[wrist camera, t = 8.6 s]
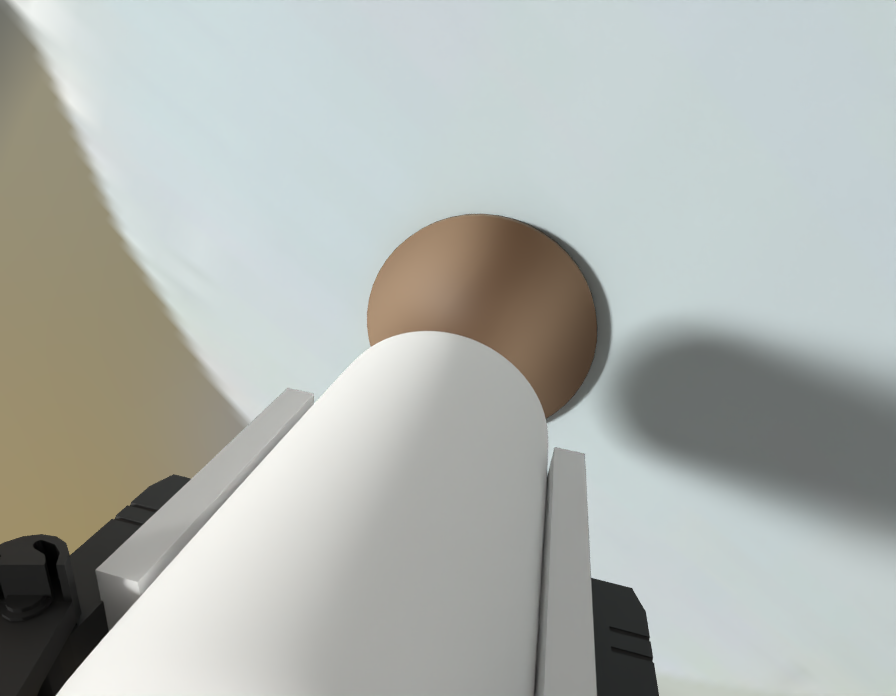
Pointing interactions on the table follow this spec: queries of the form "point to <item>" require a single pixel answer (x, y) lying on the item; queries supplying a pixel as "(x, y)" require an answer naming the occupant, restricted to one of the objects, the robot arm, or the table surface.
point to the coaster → (493, 298)
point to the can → (362, 547)
